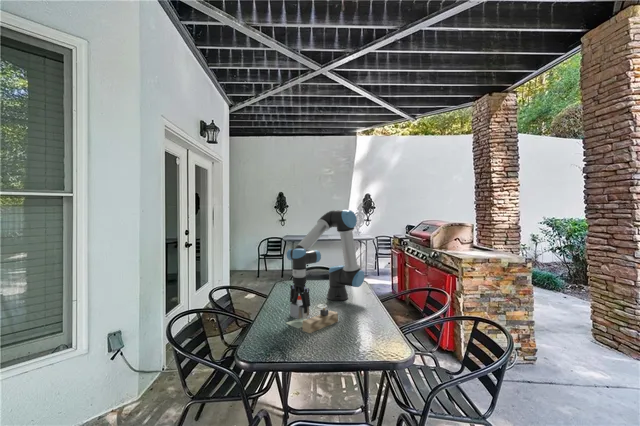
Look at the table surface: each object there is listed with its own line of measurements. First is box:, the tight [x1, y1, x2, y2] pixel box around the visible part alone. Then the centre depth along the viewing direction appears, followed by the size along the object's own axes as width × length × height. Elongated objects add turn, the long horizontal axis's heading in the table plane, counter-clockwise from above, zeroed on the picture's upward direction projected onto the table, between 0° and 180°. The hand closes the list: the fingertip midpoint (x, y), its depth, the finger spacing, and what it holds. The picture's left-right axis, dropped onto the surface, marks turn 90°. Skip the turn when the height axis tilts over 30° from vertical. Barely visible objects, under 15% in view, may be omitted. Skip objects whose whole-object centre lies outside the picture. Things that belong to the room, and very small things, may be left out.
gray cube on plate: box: [289, 301, 310, 319], centre depth 165 cm, size 8×7×7 cm
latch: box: [319, 307, 329, 316], centre depth 162 cm, size 3×3×4 cm
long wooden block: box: [302, 310, 339, 334], centre depth 160 cm, size 22×6×5 cm, turn 136°
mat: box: [285, 318, 308, 330], centre depth 165 cm, size 12×11×1 cm
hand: (299, 316), depth 165 cm, fingers closed on gray cube on plate, 7 cm apart
